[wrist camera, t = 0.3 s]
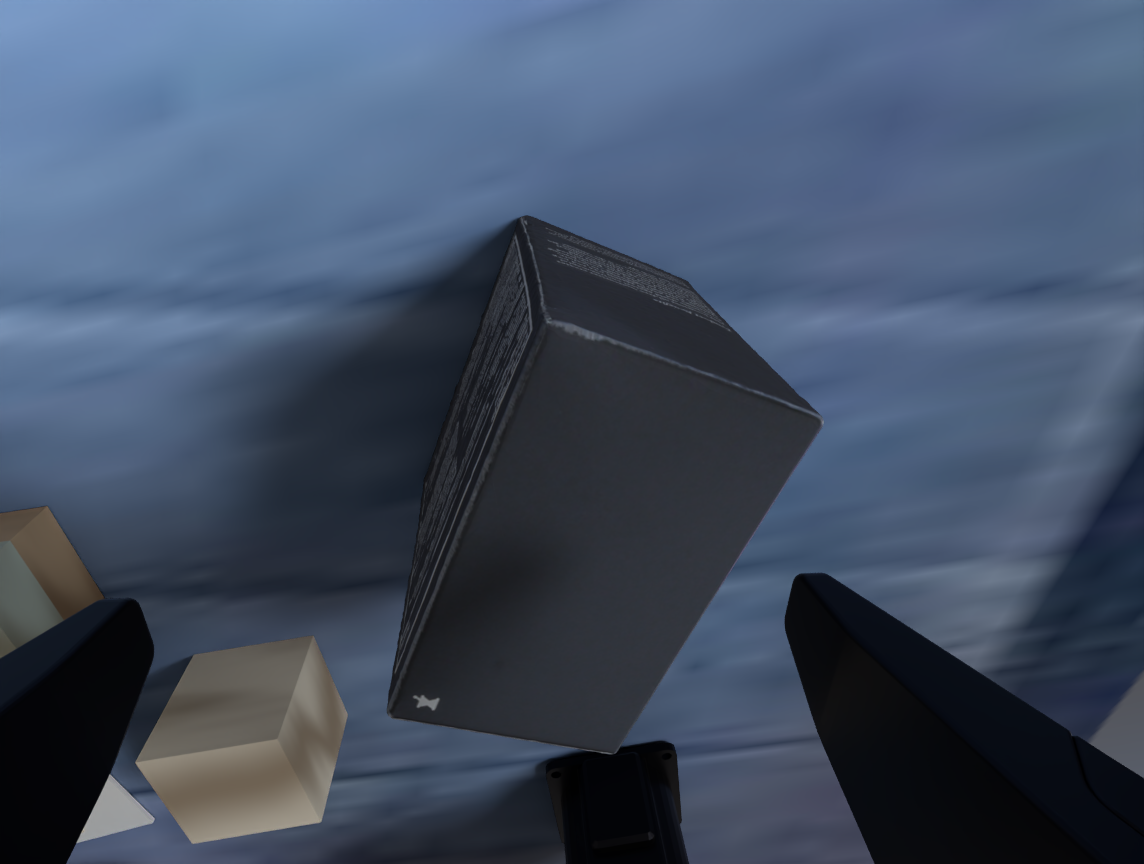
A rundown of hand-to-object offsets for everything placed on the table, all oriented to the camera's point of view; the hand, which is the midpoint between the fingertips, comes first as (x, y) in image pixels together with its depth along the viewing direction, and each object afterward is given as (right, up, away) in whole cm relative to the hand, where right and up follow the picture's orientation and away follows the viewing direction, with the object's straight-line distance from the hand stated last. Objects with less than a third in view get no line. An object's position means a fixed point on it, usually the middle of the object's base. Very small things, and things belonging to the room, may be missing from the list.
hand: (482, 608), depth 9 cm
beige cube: (-12, -9, +19) cm, 24 cm away
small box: (+1, +4, +14) cm, 15 cm away
